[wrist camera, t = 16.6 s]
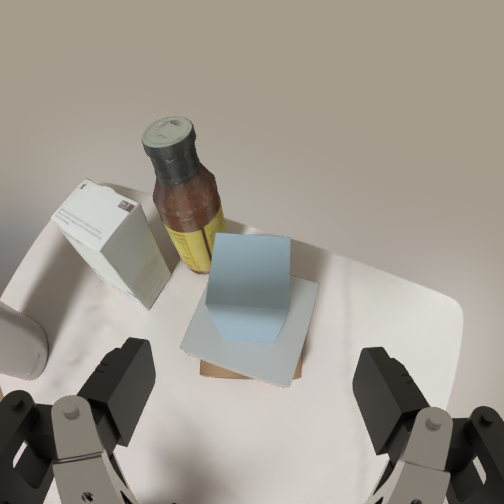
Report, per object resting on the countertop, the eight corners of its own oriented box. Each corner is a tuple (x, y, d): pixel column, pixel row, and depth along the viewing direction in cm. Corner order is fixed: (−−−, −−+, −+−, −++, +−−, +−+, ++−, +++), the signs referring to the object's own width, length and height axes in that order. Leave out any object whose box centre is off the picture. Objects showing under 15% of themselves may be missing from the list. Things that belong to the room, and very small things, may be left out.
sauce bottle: (218, 228, 38) (200, 98, 21) (237, 265, 35) (229, 133, 18) (174, 247, 36) (126, 123, 19) (190, 286, 34) (137, 165, 16)
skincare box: (105, 283, 33) (44, 219, 21) (129, 248, 36) (83, 174, 23) (151, 313, 32) (95, 254, 19) (176, 273, 34) (139, 197, 21)
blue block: (222, 339, 23) (205, 303, 14) (228, 292, 25) (216, 232, 16) (274, 343, 23) (289, 309, 14) (276, 295, 25) (290, 237, 16)
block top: (188, 354, 26) (179, 348, 23) (224, 270, 31) (220, 253, 27) (284, 387, 25) (289, 386, 21) (311, 298, 29) (319, 283, 26)
